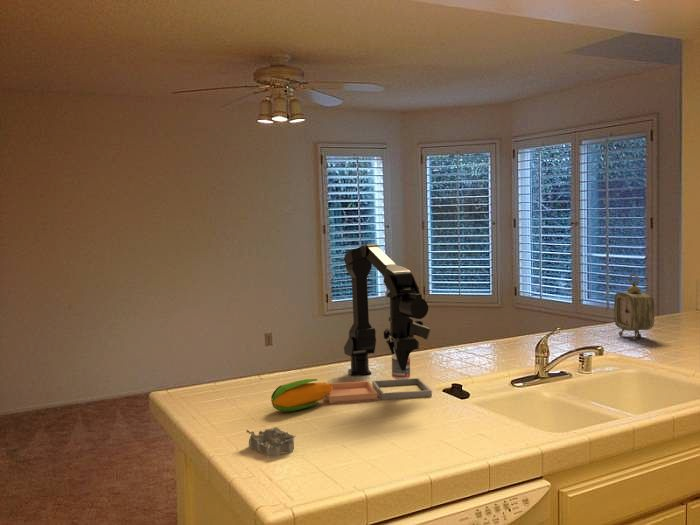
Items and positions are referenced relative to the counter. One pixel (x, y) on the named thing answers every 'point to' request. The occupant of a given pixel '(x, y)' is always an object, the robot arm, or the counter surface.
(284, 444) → the egg carton
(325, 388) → the corn
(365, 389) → the terracotta dish
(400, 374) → the pill bottle
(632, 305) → the tabletop clock
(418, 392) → the grey frame
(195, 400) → the counter surface
